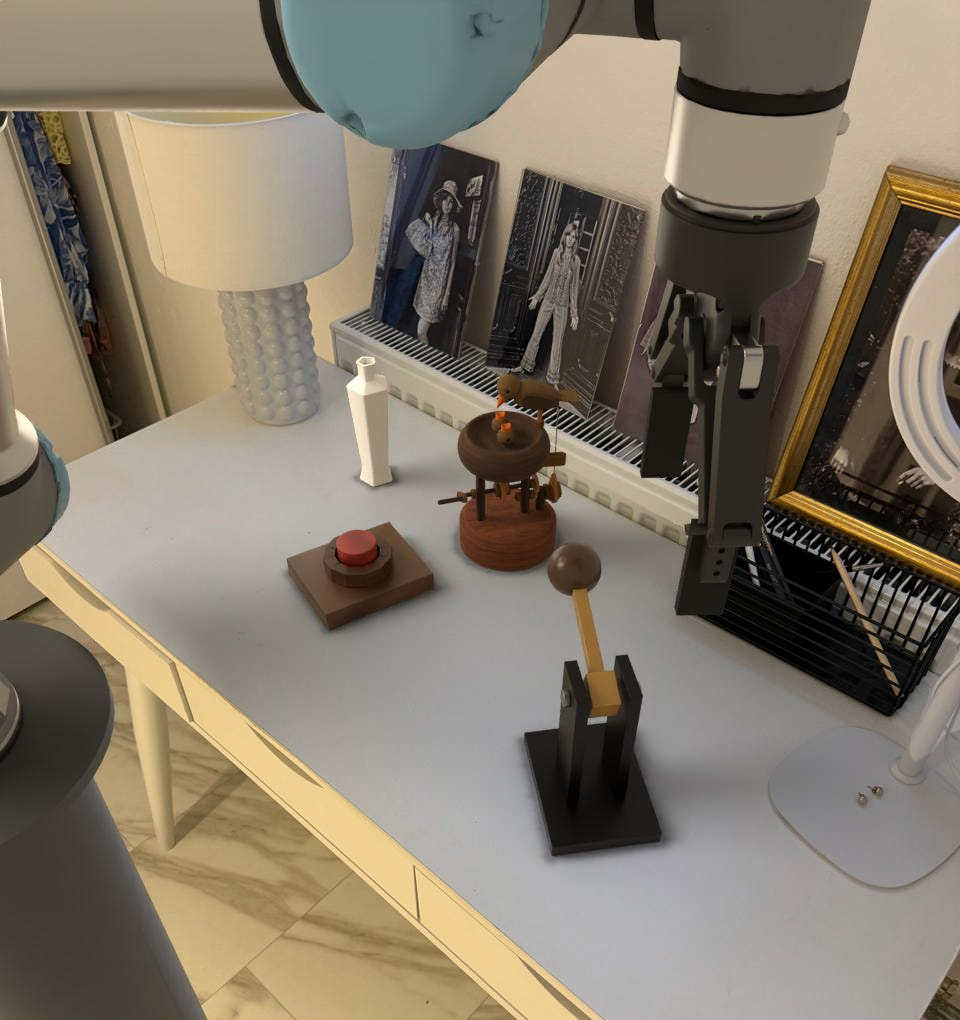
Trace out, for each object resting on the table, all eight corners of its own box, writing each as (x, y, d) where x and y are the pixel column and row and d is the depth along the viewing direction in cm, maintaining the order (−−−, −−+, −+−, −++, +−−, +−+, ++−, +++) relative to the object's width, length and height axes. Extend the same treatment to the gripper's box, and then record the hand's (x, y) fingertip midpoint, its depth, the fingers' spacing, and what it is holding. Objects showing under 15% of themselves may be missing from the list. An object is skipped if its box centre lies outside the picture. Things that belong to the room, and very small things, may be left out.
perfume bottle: (405, 475, 114) (396, 360, 103) (377, 491, 112) (366, 375, 101) (379, 460, 116) (368, 345, 106) (351, 476, 114) (337, 360, 103)
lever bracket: (523, 740, 86) (528, 629, 76) (622, 728, 86) (639, 617, 77) (551, 856, 77) (561, 747, 67) (660, 841, 78) (685, 732, 68)
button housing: (328, 630, 96) (323, 601, 93) (288, 574, 102) (283, 544, 99) (434, 589, 100) (432, 559, 97) (390, 537, 106) (387, 507, 103)
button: (348, 572, 96) (346, 559, 95) (331, 550, 99) (329, 537, 97) (384, 559, 98) (382, 545, 96) (366, 538, 100) (365, 524, 99)
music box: (538, 495, 111) (555, 341, 96) (584, 556, 105) (609, 402, 90) (416, 529, 107) (413, 374, 92) (456, 596, 100) (460, 441, 85)
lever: (540, 562, 81) (545, 534, 77) (591, 556, 81) (599, 529, 77) (572, 725, 75) (580, 704, 71) (627, 718, 75) (638, 697, 71)
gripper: (910, 309, 37) (787, 680, 52) (758, 107, 55) (698, 428, 70) (718, 312, 37) (649, 684, 52) (627, 108, 55) (595, 429, 70)
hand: (677, 538), depth 61 cm, fingers open, 13 cm apart
